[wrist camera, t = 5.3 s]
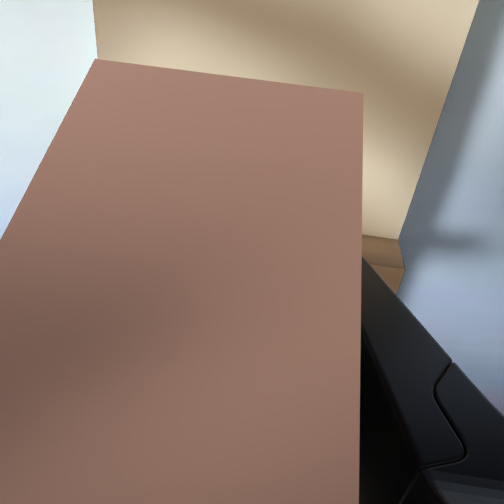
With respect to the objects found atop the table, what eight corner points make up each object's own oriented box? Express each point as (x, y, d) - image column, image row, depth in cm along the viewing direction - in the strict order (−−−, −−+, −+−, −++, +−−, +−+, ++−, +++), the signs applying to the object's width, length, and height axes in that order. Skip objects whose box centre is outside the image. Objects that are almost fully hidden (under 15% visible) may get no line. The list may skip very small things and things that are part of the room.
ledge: (335, 400, 28) (337, 454, 25) (135, 369, 29) (115, 419, 26) (498, -107, 14) (544, -110, 11) (98, -154, 14) (45, -169, 12)
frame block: (305, 309, 13) (283, 578, 10) (153, 287, 13) (79, 545, 10) (373, 94, 7) (377, 595, 4) (95, 58, 7) (-142, 510, 4)
